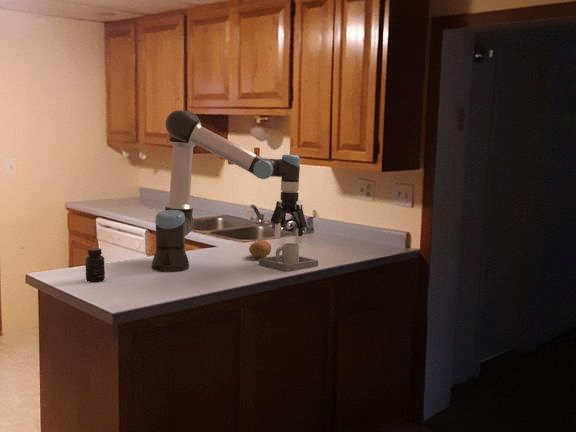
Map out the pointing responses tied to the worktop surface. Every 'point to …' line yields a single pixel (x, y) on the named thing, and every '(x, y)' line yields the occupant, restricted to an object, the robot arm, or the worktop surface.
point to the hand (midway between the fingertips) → (287, 241)
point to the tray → (275, 264)
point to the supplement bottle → (95, 265)
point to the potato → (260, 249)
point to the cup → (288, 253)
